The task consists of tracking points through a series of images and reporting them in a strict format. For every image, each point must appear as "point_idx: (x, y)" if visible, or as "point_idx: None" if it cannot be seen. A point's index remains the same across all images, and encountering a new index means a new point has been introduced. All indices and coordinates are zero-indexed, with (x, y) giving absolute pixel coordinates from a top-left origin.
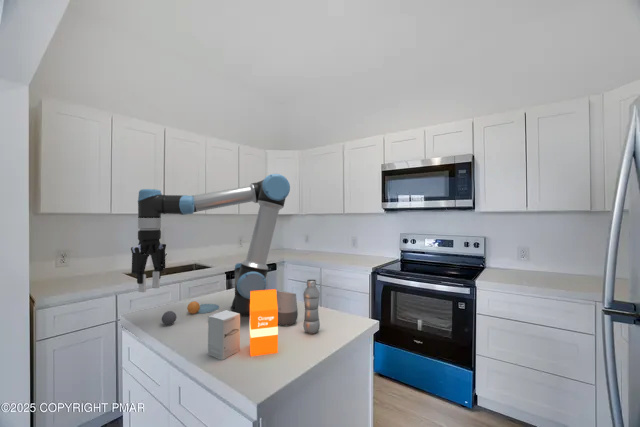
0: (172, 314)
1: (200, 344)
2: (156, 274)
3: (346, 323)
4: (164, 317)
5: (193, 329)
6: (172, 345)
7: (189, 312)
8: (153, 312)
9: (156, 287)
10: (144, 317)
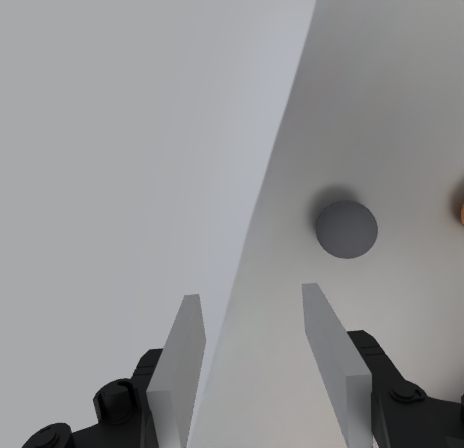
0: (349, 256)
1: (255, 428)
2: (336, 405)
3: None
4: (322, 237)
5: None
6: (218, 369)
7: (461, 209)
8: (437, 3)
9: (306, 324)
10: (367, 35)
